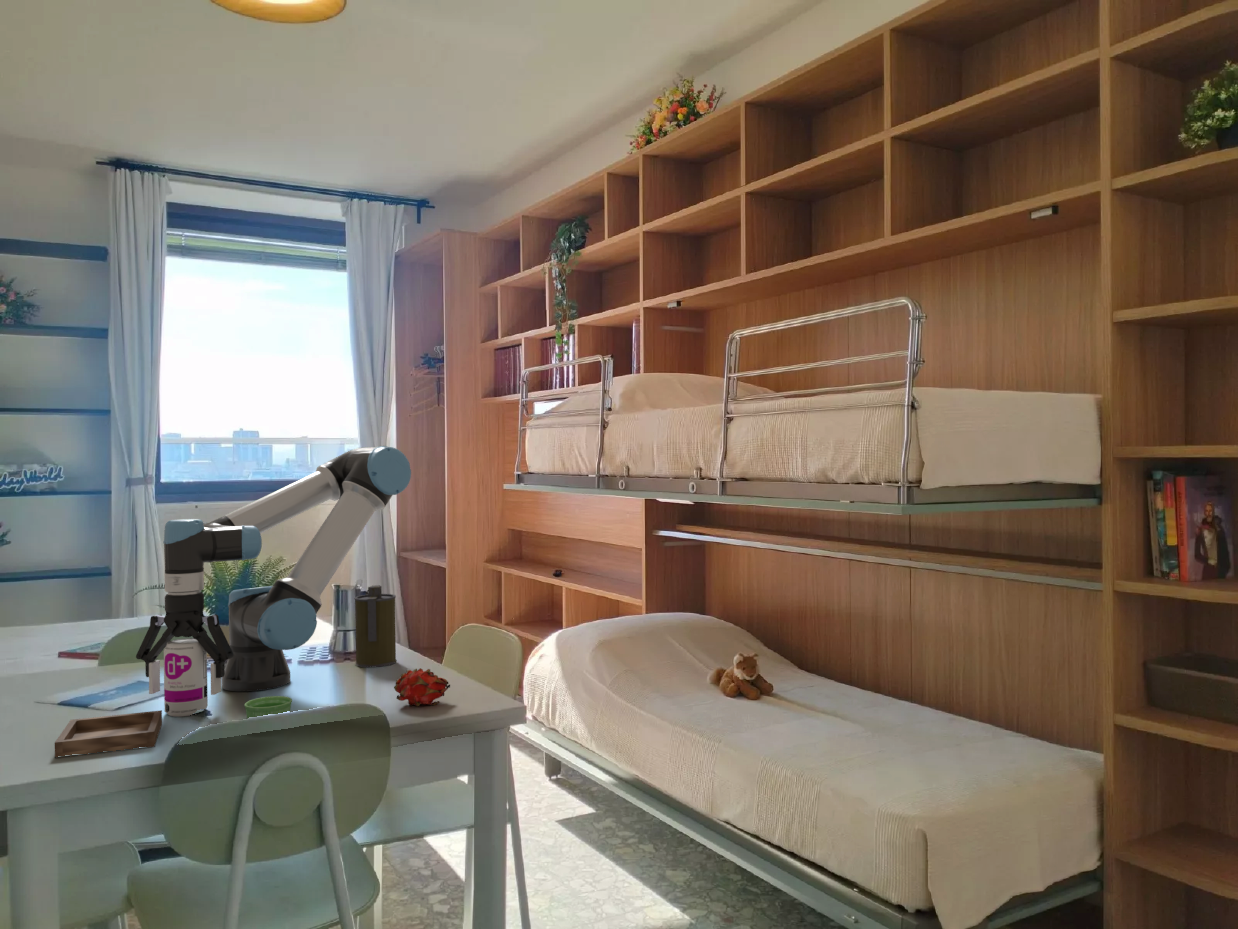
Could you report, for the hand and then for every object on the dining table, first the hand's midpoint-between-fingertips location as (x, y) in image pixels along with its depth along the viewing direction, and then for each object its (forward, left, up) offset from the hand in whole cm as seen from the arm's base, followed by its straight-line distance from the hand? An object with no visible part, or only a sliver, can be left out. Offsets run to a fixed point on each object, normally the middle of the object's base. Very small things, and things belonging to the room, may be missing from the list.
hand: (185, 693), depth 194 cm
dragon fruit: (-47, +15, -4) cm, 50 cm away
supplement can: (0, 0, -4) cm, 4 cm away
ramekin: (-16, +16, -4) cm, 23 cm away
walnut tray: (+12, +16, -4) cm, 20 cm away
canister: (-43, -31, -4) cm, 53 cm away
